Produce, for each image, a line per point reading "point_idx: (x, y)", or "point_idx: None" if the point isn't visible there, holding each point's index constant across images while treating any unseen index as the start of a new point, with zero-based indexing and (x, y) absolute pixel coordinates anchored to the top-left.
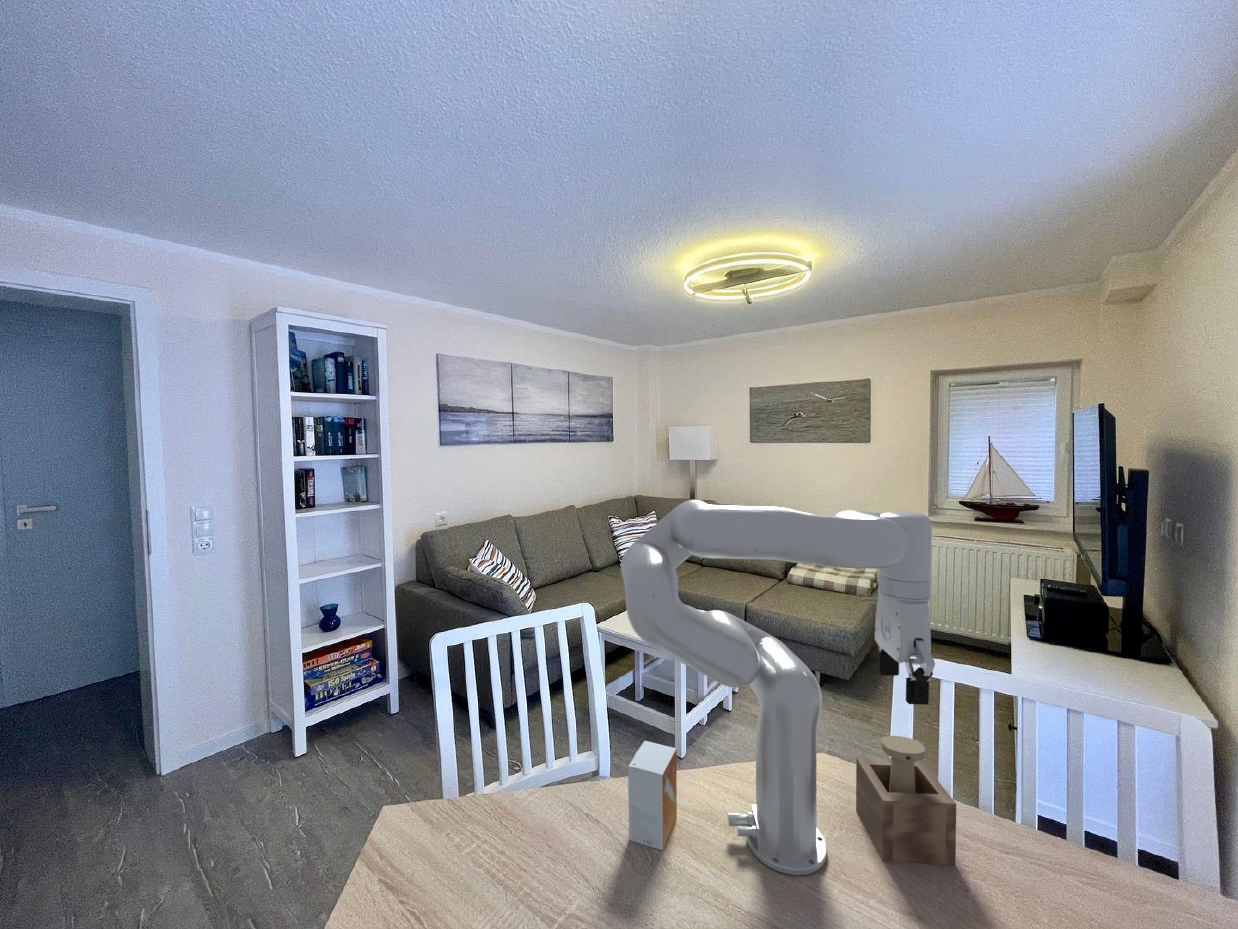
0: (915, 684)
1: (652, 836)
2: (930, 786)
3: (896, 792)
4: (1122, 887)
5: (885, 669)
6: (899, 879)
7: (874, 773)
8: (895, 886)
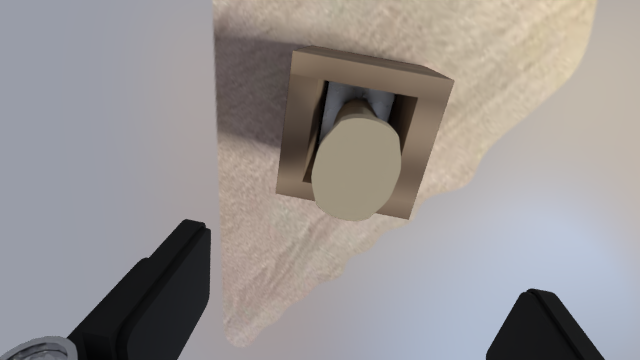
0: (71, 333)
1: None
2: None
3: (345, 114)
4: (257, 297)
5: (531, 336)
6: (278, 51)
7: (384, 88)
8: (266, 36)
